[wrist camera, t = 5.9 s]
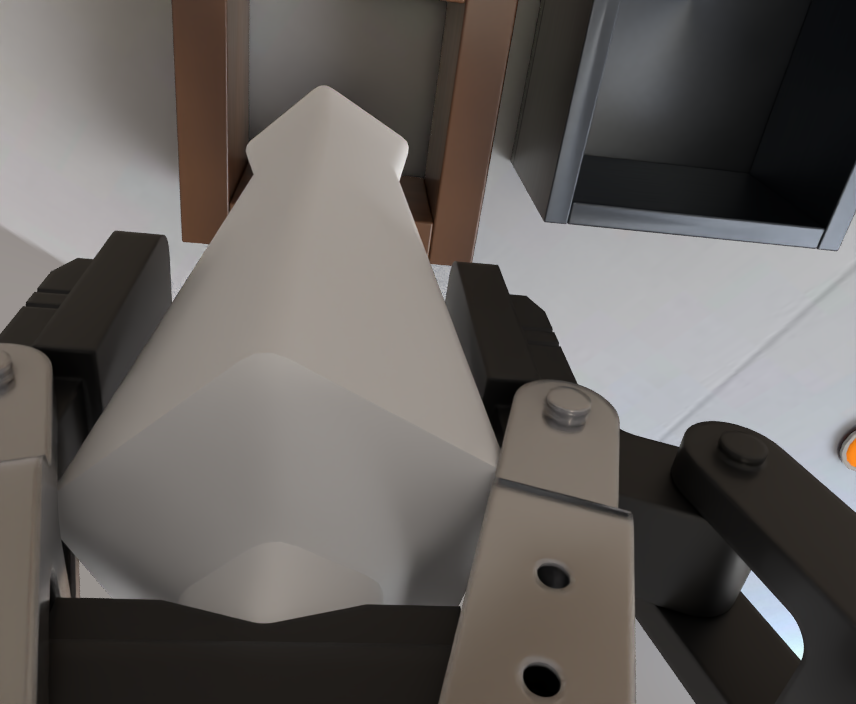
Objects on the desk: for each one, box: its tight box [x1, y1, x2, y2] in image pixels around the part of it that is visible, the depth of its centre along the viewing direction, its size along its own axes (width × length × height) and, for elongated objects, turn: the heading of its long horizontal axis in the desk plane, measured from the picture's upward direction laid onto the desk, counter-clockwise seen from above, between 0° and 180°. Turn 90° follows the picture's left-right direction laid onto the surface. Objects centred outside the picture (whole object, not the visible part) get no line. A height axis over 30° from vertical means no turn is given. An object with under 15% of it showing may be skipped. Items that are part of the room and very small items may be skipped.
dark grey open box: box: [511, 0, 856, 251], centre depth 24 cm, size 11×14×7 cm
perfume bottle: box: [58, 86, 501, 623], centre depth 12 cm, size 5×4×15 cm
